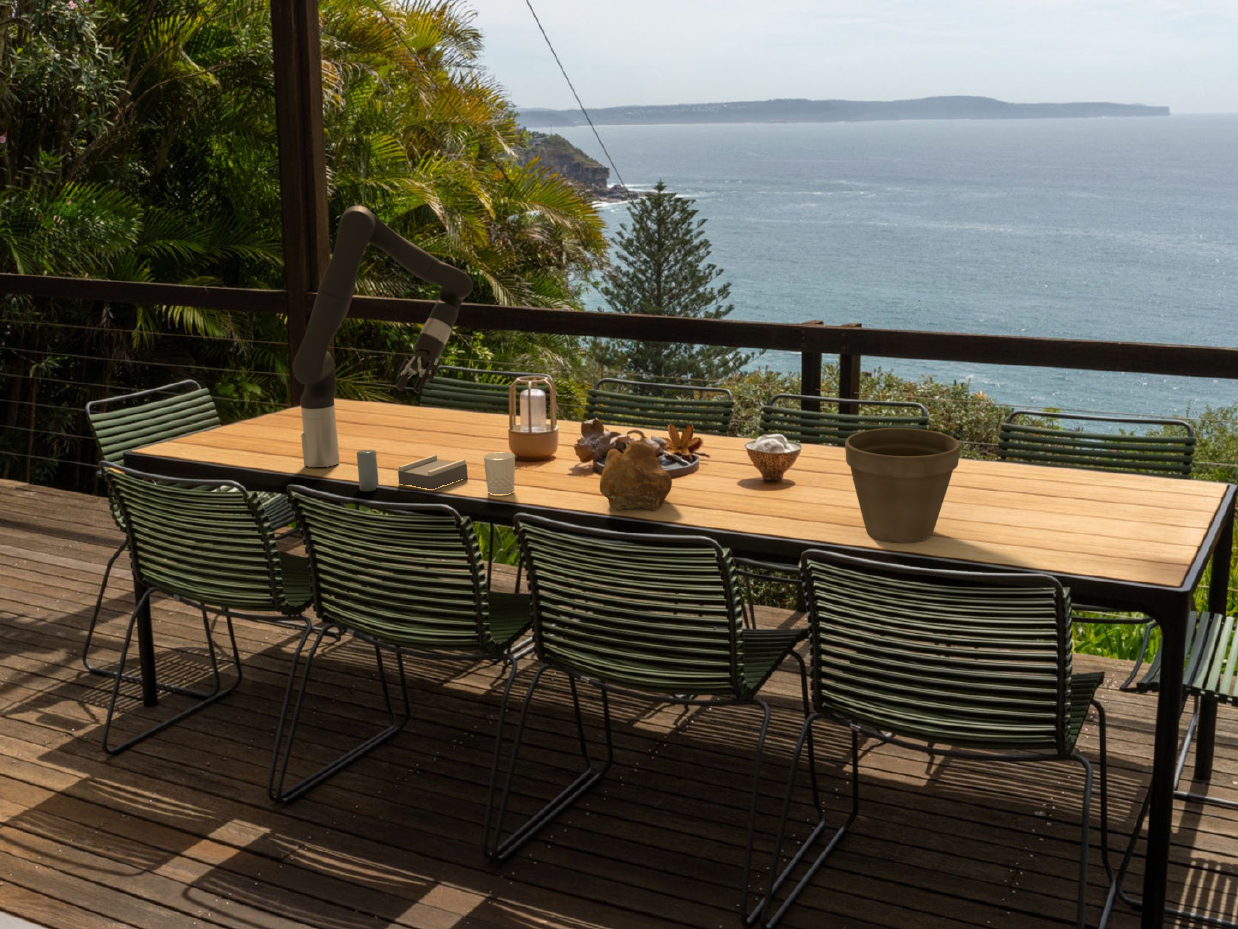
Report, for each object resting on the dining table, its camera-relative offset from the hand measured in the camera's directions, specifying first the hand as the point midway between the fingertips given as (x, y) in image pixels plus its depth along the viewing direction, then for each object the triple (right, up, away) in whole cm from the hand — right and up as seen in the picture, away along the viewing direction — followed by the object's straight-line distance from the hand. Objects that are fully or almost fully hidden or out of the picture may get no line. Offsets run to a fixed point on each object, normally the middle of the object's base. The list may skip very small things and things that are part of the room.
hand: (407, 390), depth 324 cm
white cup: (+27, -28, -14) cm, 41 cm away
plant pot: (+121, -36, -54) cm, 137 cm away
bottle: (-9, -26, -7) cm, 29 cm away
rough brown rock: (+63, -30, -27) cm, 75 cm away
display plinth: (+7, -25, -3) cm, 26 cm away
